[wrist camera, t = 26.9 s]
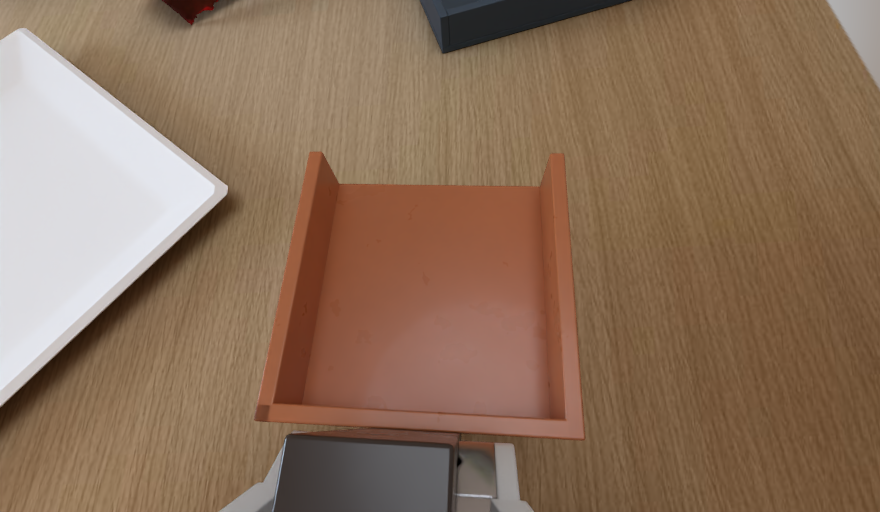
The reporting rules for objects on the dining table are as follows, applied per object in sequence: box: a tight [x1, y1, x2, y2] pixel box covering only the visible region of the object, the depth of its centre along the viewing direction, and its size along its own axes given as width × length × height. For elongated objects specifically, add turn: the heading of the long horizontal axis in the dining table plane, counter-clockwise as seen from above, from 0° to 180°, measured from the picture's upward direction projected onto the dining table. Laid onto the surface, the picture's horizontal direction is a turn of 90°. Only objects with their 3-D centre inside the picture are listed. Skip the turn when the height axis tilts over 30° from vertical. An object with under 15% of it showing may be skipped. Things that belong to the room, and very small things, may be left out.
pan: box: [254, 152, 585, 512], centre depth 13 cm, size 13×11×10 cm
